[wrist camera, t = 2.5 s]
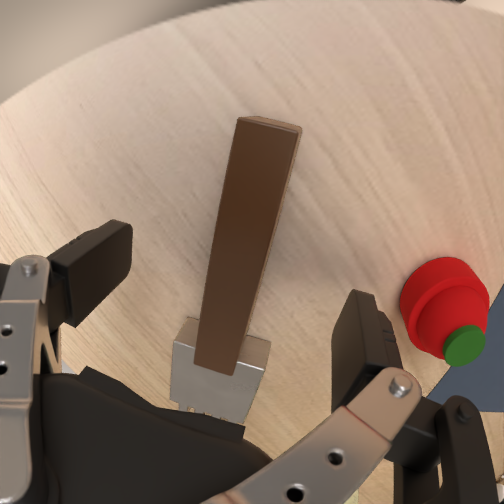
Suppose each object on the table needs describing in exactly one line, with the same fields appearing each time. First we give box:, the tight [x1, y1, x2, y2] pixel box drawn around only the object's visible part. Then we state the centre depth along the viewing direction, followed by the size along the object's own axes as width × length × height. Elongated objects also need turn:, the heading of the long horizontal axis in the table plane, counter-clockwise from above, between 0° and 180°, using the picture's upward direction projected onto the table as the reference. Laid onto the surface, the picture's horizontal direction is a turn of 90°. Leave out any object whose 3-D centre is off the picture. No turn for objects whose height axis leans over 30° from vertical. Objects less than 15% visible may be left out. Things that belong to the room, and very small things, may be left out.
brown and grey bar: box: [170, 116, 302, 424], centre depth 14 cm, size 18×4×3 cm, turn 168°
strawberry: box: [400, 257, 489, 367], centre depth 11 cm, size 4×4×4 cm
